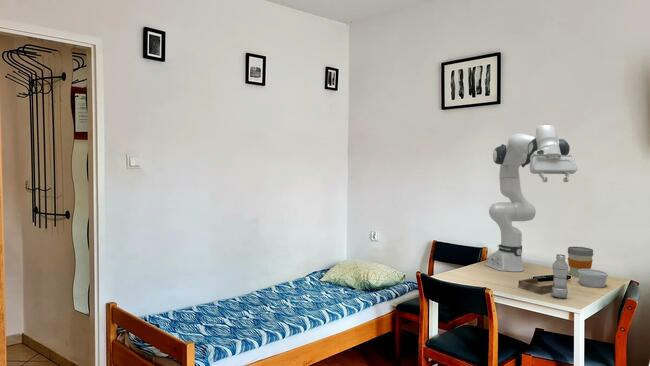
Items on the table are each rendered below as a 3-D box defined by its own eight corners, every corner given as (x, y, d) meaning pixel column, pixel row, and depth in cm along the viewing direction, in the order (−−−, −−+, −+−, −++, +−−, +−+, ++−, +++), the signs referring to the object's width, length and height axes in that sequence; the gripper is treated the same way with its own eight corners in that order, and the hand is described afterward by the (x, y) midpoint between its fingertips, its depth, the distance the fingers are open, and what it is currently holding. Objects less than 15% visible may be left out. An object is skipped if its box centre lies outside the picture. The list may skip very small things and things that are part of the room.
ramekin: (583, 280, 248) (583, 267, 248) (610, 285, 238) (611, 271, 238) (573, 284, 239) (573, 271, 239) (601, 290, 229) (602, 276, 229)
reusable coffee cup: (577, 279, 250) (578, 251, 249) (561, 273, 262) (562, 246, 261) (598, 278, 252) (599, 250, 251) (581, 272, 264) (581, 246, 263)
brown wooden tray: (518, 287, 233) (518, 280, 233) (536, 284, 239) (536, 277, 239) (540, 294, 222) (540, 287, 221) (559, 291, 227) (559, 284, 227)
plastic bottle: (568, 300, 213) (569, 257, 212) (552, 298, 215) (553, 255, 214) (566, 296, 219) (568, 254, 218) (550, 294, 221) (552, 253, 220)
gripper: (570, 158, 220) (576, 184, 215) (526, 158, 222) (530, 184, 216) (576, 151, 215) (582, 178, 209) (530, 151, 216) (535, 178, 210)
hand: (555, 181), depth 212 cm, fingers open, 8 cm apart
